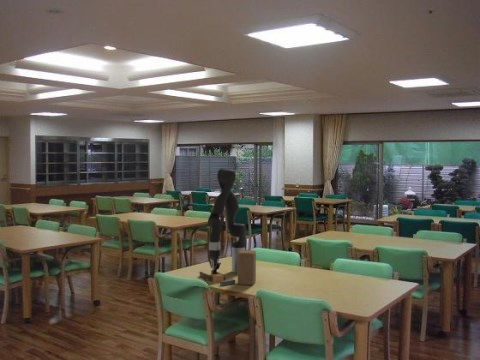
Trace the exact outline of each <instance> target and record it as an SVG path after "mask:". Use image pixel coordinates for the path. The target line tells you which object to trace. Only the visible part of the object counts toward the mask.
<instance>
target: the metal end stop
mask: <svg viewBox="0 0 480 360" xmlns="http://www.w3.org/2000/svg"><path fill="white" fill-rule="evenodd" d="M235 284H236V279H228V280H224V281H220V282H219V286H220V287H224V286H232V285H235Z"/></svg>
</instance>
